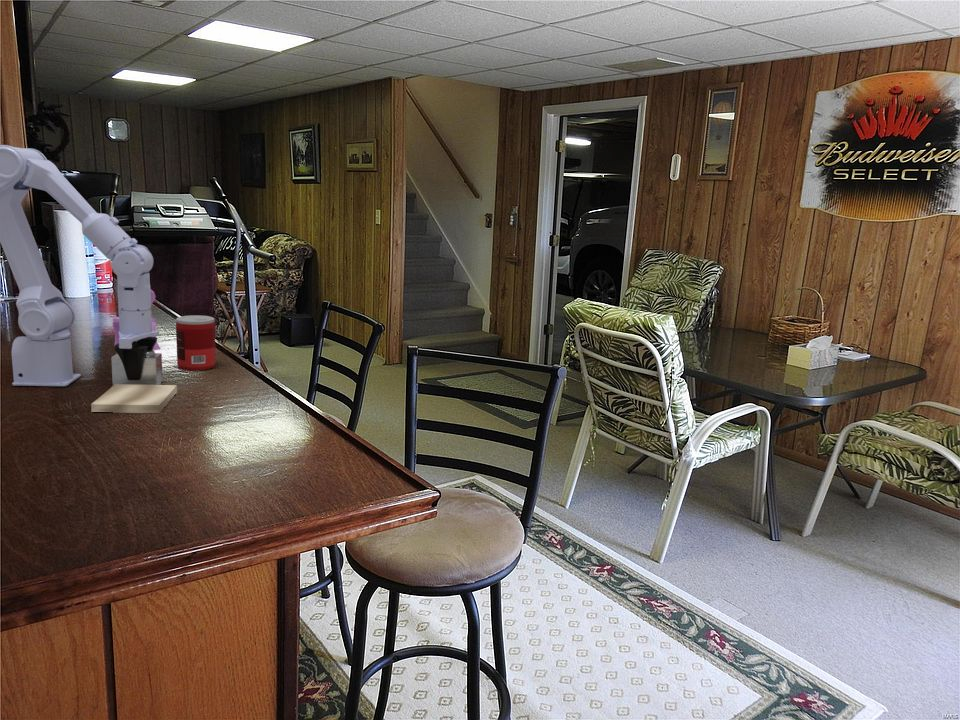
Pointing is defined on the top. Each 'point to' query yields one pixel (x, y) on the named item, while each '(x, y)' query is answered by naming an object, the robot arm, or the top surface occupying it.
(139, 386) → the stand
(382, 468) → the top surface
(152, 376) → the housing
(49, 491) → the top surface
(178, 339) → the canned food
